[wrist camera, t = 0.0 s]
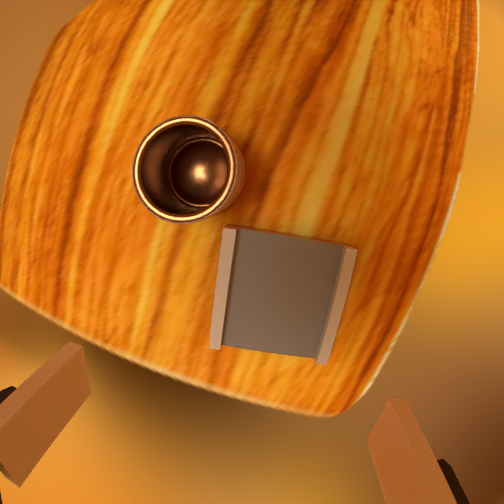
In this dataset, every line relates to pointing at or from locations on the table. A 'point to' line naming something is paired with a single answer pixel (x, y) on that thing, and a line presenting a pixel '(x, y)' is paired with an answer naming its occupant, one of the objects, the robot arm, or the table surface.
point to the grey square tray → (280, 292)
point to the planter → (187, 170)
